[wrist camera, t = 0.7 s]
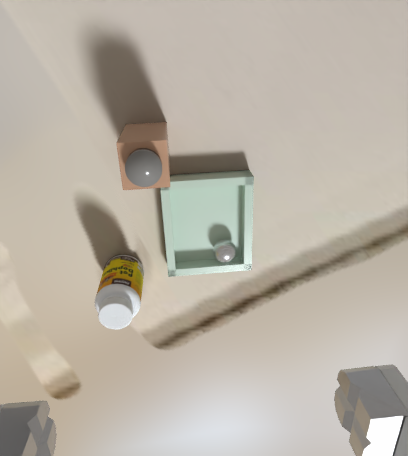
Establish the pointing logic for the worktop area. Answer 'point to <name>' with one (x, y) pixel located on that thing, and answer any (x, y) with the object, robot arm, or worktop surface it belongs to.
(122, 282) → the supplement bottle
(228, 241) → the mixing ball
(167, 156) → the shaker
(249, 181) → the tray
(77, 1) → the worktop surface
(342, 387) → the robot arm
